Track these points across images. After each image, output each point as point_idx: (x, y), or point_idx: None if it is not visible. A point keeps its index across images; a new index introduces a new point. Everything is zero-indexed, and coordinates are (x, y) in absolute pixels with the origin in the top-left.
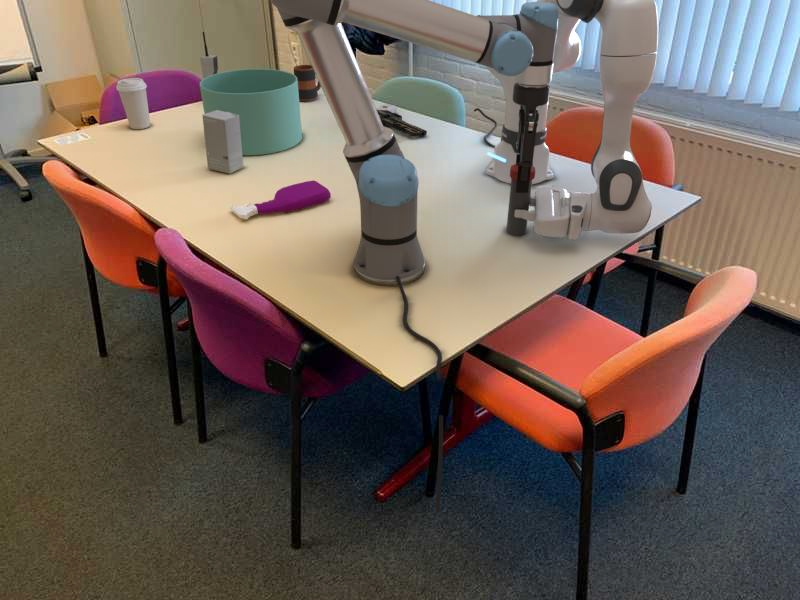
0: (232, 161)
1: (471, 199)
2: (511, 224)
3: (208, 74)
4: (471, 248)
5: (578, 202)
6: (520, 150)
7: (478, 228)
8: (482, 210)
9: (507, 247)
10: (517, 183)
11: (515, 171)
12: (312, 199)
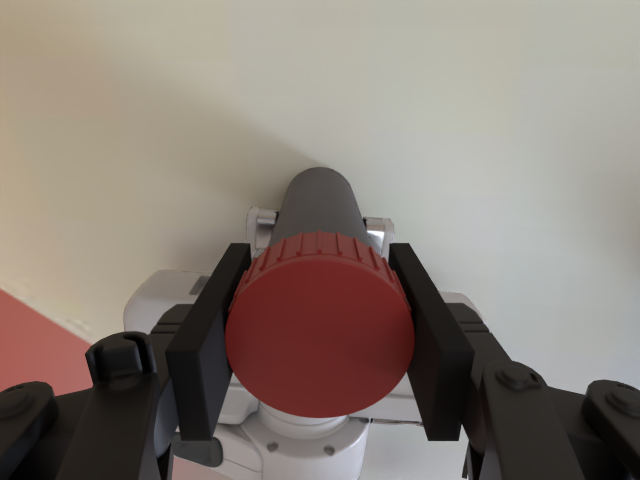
0: None
1: (616, 27)
2: (289, 189)
3: None
4: (156, 23)
5: (240, 464)
6: (485, 408)
7: (331, 56)
8: (497, 78)
9: (194, 164)
10: (215, 271)
11: (243, 289)
12: None
